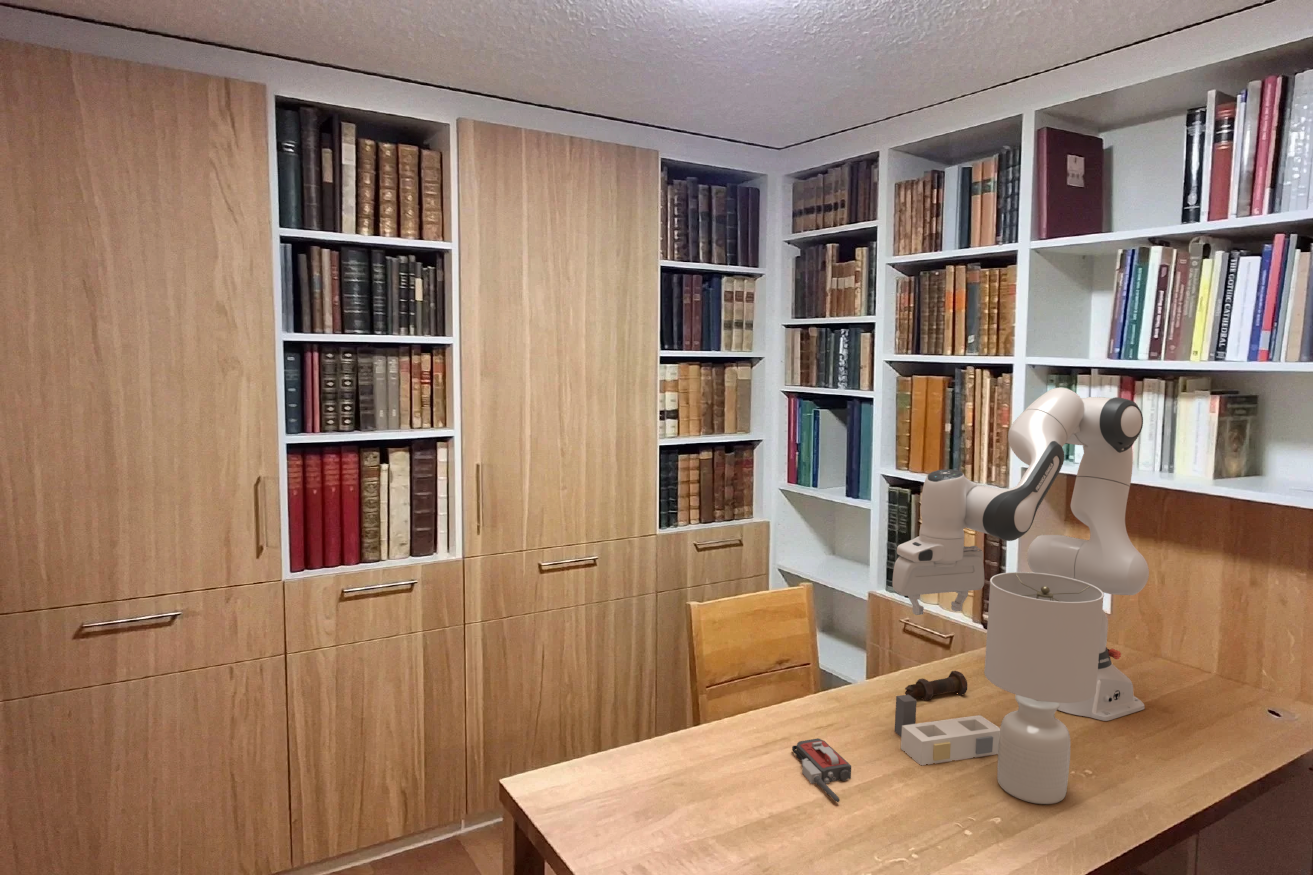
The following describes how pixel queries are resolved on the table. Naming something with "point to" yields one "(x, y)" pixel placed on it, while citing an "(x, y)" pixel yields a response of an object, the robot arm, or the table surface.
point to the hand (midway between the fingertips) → (937, 612)
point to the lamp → (1040, 673)
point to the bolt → (938, 686)
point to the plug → (904, 712)
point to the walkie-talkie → (822, 764)
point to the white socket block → (950, 739)
